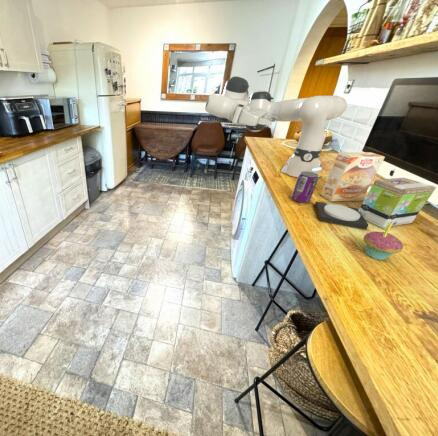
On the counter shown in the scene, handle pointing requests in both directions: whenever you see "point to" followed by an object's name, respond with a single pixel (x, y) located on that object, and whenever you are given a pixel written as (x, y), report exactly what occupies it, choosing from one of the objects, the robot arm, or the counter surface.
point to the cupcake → (382, 244)
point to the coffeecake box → (351, 176)
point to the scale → (340, 215)
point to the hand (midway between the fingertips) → (273, 121)
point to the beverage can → (304, 187)
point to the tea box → (395, 201)
